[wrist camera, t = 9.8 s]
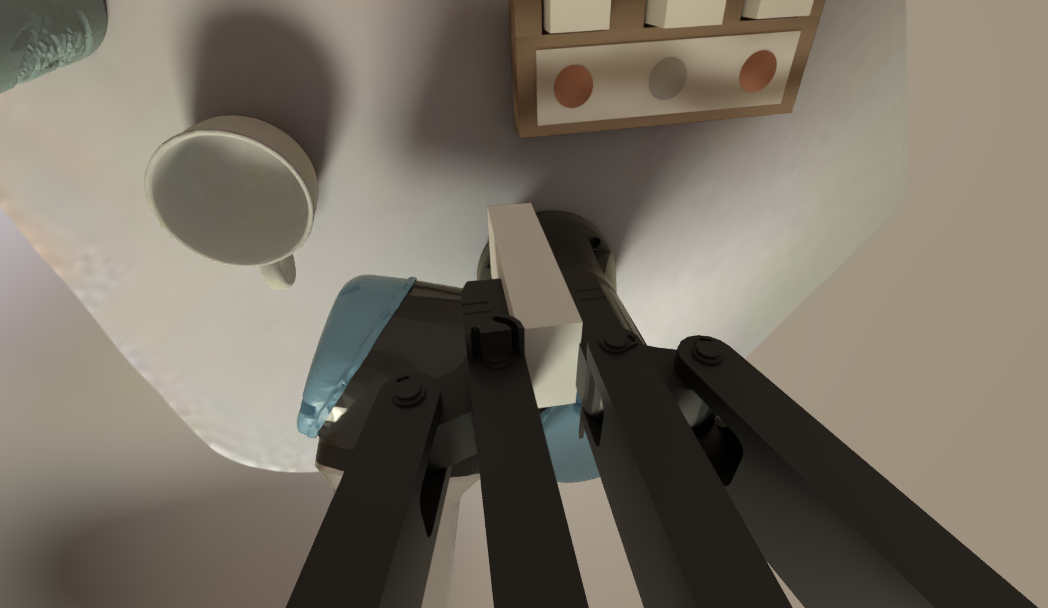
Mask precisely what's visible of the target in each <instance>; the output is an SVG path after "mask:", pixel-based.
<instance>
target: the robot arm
mask: <svg viewBox="0 0 1048 608" xmlns="http://www.w3.org/2000/svg"><path fill="white" fill-rule="evenodd" d="M487 213H488V230H489V243H488V244H487V246H486V247H485V249H484V251H483V253H482V255H481V258H480V261H479V264H478V270H477V281H468V282H466V284H465V286H464V288H458V287H452V286H446V285H440V284H434V283H428V282H423V281H417V278H415V277H410V278H408V279H404V278H395V277H386V276H377V275H361V276H357V277H355V278H353V279H351V280H350V281H349V282H347V283H346V284H345V285H344V287H343V288H342V289H341V291H340V292H339V294H338V296H337V298H336V300H335V302H334V304H333V307H332V309H331V311H330V314H329V316H328V319H327V321H326V324H325V327H324V329H323V332H322V335H321V337H320V340H319V343H318V346H317V349H316V352H315V355H314V358H313V361H312V364H311V367H310V371H309V374H308V377H307V381H306V384H305V388H304V392H303V399H302V403H301V409H300V411H299V414H298V418H297V429H298V431H299V432H300V433H302V434H304V435H307V437H309V438H316V437H317V436H319V443H318V449H317V454H316V461H315V467H316V468H317V469H318V470H319V471H320V473H321V474H322V475H323V476H324V477H325V479H326V480H327V481H328V482H329V484H330V485H331V486H332V488H333V491H334V497H333V499H332V501H331V504H330V506H329V508H328V511H327V513H326V516H325V518H324V520H323V522H322V524H321V527H320V529H319V531H318V534H317V536H316V538H315V541H314V543H313V545H312V548H311V550H310V552H309V555H308V557H307V560H306V562H305V564H304V566H303V569H302V571H301V573H300V576H299V578H298V580H297V583H296V585H295V587H294V590H293V592H292V594H291V597H290V599H289V601H288V604H287V606H286V608H448V602H449V592H450V584H451V575H452V566H453V557H454V548H455V539H456V529H457V520H458V512H459V503H460V498H461V496H462V495H463V493H464V492H465V491H466V490H467V489H469V488H470V487H471V486H472V485H473V484H474V483H475V482H476V481H477V480H479V479H480V480H481V490H482V499H483V508H484V517H485V527H486V536H487V546H488V555H489V564H490V573H491V583H492V592H493V601H494V608H589V607H588V603H587V599H586V595H585V591H584V587H583V583H582V579H581V576H580V571H579V567H578V564H577V559H576V555H575V551H574V547H573V544H572V540H571V536H570V532H569V528H568V524H567V520H566V516H565V512H564V508H563V504H562V500H561V496H560V492H559V489H558V484H557V482H562V483H573V482H581V481H587V480H591V479H595V478H598V477H601V480H602V483H603V486H604V489H605V492H606V495H607V498H608V501H609V504H610V507H611V510H612V513H613V516H614V519H615V522H616V525H617V528H618V531H619V534H620V537H621V540H622V543H623V546H624V549H625V552H626V555H627V558H628V561H629V564H630V567H631V570H632V573H633V576H634V579H635V582H636V585H637V588H638V591H639V594H640V597H641V600H642V603H643V606H644V608H792V606H791V604H790V602H789V601H788V599H787V597H786V595H785V594H784V592H783V590H782V588H781V586H780V585H779V583H778V581H777V579H776V577H775V576H774V574H773V572H772V570H771V569H770V567H769V565H768V563H769V564H770V566H771V567H772V568H773V569H774V570H775V572H776V573H777V574H778V575H779V577H780V578H781V579H782V580H783V581H784V583H785V584H786V585H787V586H788V588H789V589H790V590H791V591H792V593H793V594H794V595H795V596H796V597H797V599H798V600H799V601H800V602H801V604H802V605H803V606H804V607H805V608H1038V607H1037V606H1036V605H1034V604H1033V603H1032V602H1031V601H1030V600H1028V599H1027V598H1026V597H1025V596H1024V595H1023V594H1021V593H1020V592H1019V591H1018V590H1017V589H1015V588H1014V587H1013V586H1012V585H1011V584H1010V583H1008V582H1007V581H1006V580H1005V579H1003V578H1002V577H1001V576H1000V575H999V574H998V573H997V572H995V571H994V570H993V569H992V568H991V567H989V566H988V565H987V564H986V563H985V562H983V561H982V560H981V559H980V558H979V557H978V556H977V555H975V554H974V553H973V552H972V551H971V550H969V549H968V548H967V547H966V546H965V545H963V544H962V543H961V542H960V541H959V540H958V539H956V538H955V537H954V536H953V535H951V533H949V532H948V531H947V530H946V529H944V528H943V527H942V526H941V525H940V524H939V523H937V522H936V521H935V520H934V519H933V518H932V517H930V516H929V515H928V514H927V513H926V512H924V511H923V510H922V509H921V508H920V507H919V506H918V505H916V504H915V503H914V502H913V501H911V500H910V499H909V498H908V497H907V496H906V495H904V494H903V493H902V492H901V491H900V490H899V489H897V488H896V487H895V486H894V485H893V484H892V483H890V482H889V481H888V480H887V479H886V478H884V477H883V476H882V475H881V474H880V473H879V472H877V471H876V470H875V469H874V468H873V467H871V466H870V465H869V464H868V463H867V462H866V461H864V460H863V459H862V458H861V457H860V456H859V455H857V454H856V453H855V452H854V451H852V450H851V449H850V448H849V447H848V446H847V445H846V444H844V443H843V442H842V441H841V440H840V439H838V438H837V437H836V436H835V435H834V434H833V433H831V432H830V431H829V430H828V429H827V428H825V427H824V426H823V425H822V424H821V423H820V422H818V421H817V420H816V419H815V418H814V417H812V416H811V415H810V414H809V413H808V412H807V411H805V410H804V409H803V408H802V407H801V406H800V405H798V404H797V403H796V402H795V401H793V400H792V399H791V398H790V397H789V396H788V395H787V394H785V393H784V392H783V391H782V390H781V389H779V388H778V387H777V386H776V385H775V384H773V383H772V382H771V381H770V380H769V379H768V378H766V377H765V376H764V375H763V374H762V373H761V372H759V371H758V370H757V369H756V368H755V367H753V366H752V365H751V364H750V363H749V362H748V361H746V360H745V359H744V358H743V357H742V356H741V355H739V354H738V353H737V352H736V351H735V350H733V349H732V348H731V347H730V346H728V345H727V344H725V343H724V342H722V341H721V340H718V339H715V338H712V337H709V336H701V335H697V336H690V337H687V338H685V339H684V340H682V341H681V342H680V344H679V346H678V348H677V350H674V349H666V348H657V347H652V346H647V344H646V343H645V341H644V339H643V338H642V336H641V334H640V333H639V331H638V329H637V327H636V326H635V324H634V322H633V321H632V319H631V317H630V316H629V314H628V312H627V311H626V309H625V307H624V306H623V304H622V302H621V300H620V299H619V297H618V295H617V292H616V265H615V260H614V256H613V253H612V251H611V248H610V247H609V245H608V243H607V242H606V240H605V238H604V237H603V235H602V234H601V232H600V231H599V230H598V229H597V228H596V227H595V226H594V225H593V224H592V223H590V222H589V221H587V220H585V219H584V218H582V217H580V216H577V215H574V214H571V213H567V212H560V211H545V212H538V213H535V211H534V209H533V207H532V204H531V203H523V204H510V205H498V206H487ZM766 561H767V562H768V563H767V562H766Z"/></svg>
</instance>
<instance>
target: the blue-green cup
mask: <svg viewBox="0 0 1048 608" xmlns="http://www.w3.org/2000/svg"><path fill="white" fill-rule="evenodd" d="M106 28H107V14H106V9H105V4H104V1H103V0H0V93H2V92H5V91H7V90H9V89H12V88H14V86H15V85H16V84H17V83H24V82H27V81H30V80H32V79H35V78H37V77H39V76H41V75H44V74H46V73H48V72H51V71H53V70H56V68H58V67H64V66H66V65H69V64H71V63H74V62H76V61H79V60H81V59H83V58H86V57H88V56H89V55H91V54H92V53H93V52H94V51H95V50H97V49H98V47H99V45H100V44H101V42H102V41H103V39H104V36H105V34H106Z"/></svg>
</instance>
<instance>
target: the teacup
mask: <svg viewBox="0 0 1048 608" xmlns="http://www.w3.org/2000/svg"><path fill="white" fill-rule="evenodd" d="M145 192H146V198H147V201H148V204H149V206H150V208H151V211H152V213H153V215H154V216H155V218H156V220H157V221H158V222H159V223H160V225H161V227H163V228H164V229H165V230H166V232H167V233H169V235H170V236H171V237H172V238H173V239H175V240H176V241H177V242H178V243H179V244H181V245H182V246H183V247H185V248H186V249H188V250H190V251H192V252H193V253H195V254H197V255H199V256H201V257H203V258H206V259H208V260H211V261H214V262H218V263H221V264H226V265H232V266H245V267H248V266H260V268H261V272H262V275H263V277H264V279H265V281H266V283H267V284H268V285H269V286H270V287H271V288H273V289H276V290H282V289H285V288H289V287H290V286H292V285H293V284H294V281H295V277H296V268H295V262H294V257H293V253H295V252H296V251H297V250H298V249H299V248H300V247H301V246H302V245H303V244H304V242H305V241H306V240H307V238H308V237H309V234H310V232H311V229H312V225H313V221H314V214H315V210H316V206H317V200H318V181H317V176H316V173H315V170H314V167H313V165H312V163H311V161H310V159H309V157H308V156H307V154H306V153H305V152H304V150H303V149H302V148H301V147H300V145H299V144H298V143H297V142H296V141H295V140H294V139H292V138H291V137H290V136H289V135H288V134H286V133H285V132H283V131H282V130H280V129H279V128H277V127H275V126H273V125H271V124H269V123H267V122H264V121H261V120H259V119H255V118H251V117H246V116H238V115H228V116H218V117H214V118H210V119H207V120H204V121H202V122H199V123H197V124H195V125H194V126H192V127H190V128H188V129H187V130H185V131H184V132H182V133H181V134H178V135H176V136H174V137H172V138H170V139H168V140H167V141H165V142H164V143H163V144H162V145H161V146H160V147H159V148H158V149H157V150H156V151H155V153H154V154H153V155H152V157H151V159H150V160H149V164H148V166H147V168H146V172H145Z"/></svg>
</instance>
